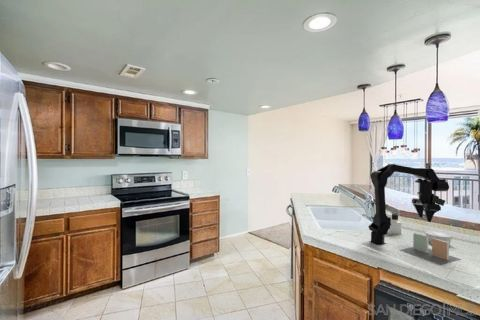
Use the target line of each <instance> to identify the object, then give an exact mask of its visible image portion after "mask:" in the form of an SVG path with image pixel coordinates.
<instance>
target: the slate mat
mask: <svg viewBox="0 0 480 320" xmlns="http://www.w3.org/2000/svg"><path fill="white" fill-rule="evenodd" d="M399 251H400V252H403V253H405V254H407V255H408V254H409V255H411V256H414V257H416V258H419V259H422V260H425V261H427V262H430V263H432V264H435V265H439V266H442V265H443V266H444V265H446V264H450V263H452V262H453V263H454V262H457V261H461V260H462V259H461V258H458V257H457V256H456V257H455V256H452V255H450V254H449V260H445V259H442V258H439V257H436V256H433V255H432V248H428V253H425V252H422V251H419V250H416V249H413V246H410V247H406V248H402V249H399Z"/></svg>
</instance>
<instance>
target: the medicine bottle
mask: <svg viewBox="0 0 480 320" xmlns="http://www.w3.org/2000/svg"><path fill="white" fill-rule="evenodd" d="M386 215H387V216H388V217H390V218H391V225H390V229H389V230H388V232H387V234H389V235H401V234H402V222H400V221H399V214H397V213H396V212H386Z"/></svg>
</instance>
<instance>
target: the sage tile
mask: <svg viewBox="0 0 480 320" xmlns="http://www.w3.org/2000/svg"><path fill="white" fill-rule="evenodd" d="M412 235H413V241H412V243H413V245H412V247H413V249H416V250H419V251H422V252H425V253H428V249H429V241H428V236H426V234H422V233H418V232H413V234H412Z"/></svg>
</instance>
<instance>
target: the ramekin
mask: <svg viewBox="0 0 480 320" xmlns="http://www.w3.org/2000/svg"><path fill="white" fill-rule="evenodd" d="M424 235H425V236H428V243H431V244H432V238H436V239H439V240H443V241H446V242H449V246H450V245H451V241H452V238H453V235H451V233H447V232H444V231H438V230H426V231H425V233H424Z"/></svg>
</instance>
